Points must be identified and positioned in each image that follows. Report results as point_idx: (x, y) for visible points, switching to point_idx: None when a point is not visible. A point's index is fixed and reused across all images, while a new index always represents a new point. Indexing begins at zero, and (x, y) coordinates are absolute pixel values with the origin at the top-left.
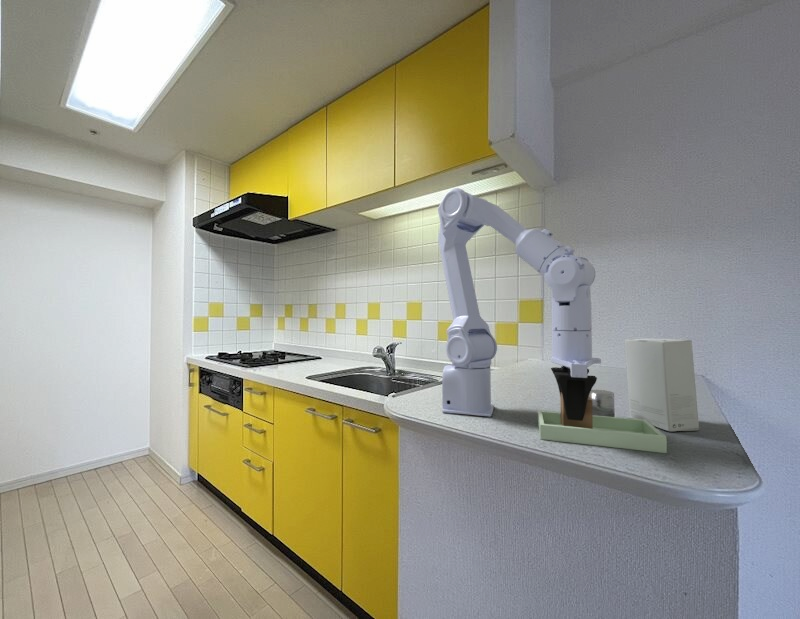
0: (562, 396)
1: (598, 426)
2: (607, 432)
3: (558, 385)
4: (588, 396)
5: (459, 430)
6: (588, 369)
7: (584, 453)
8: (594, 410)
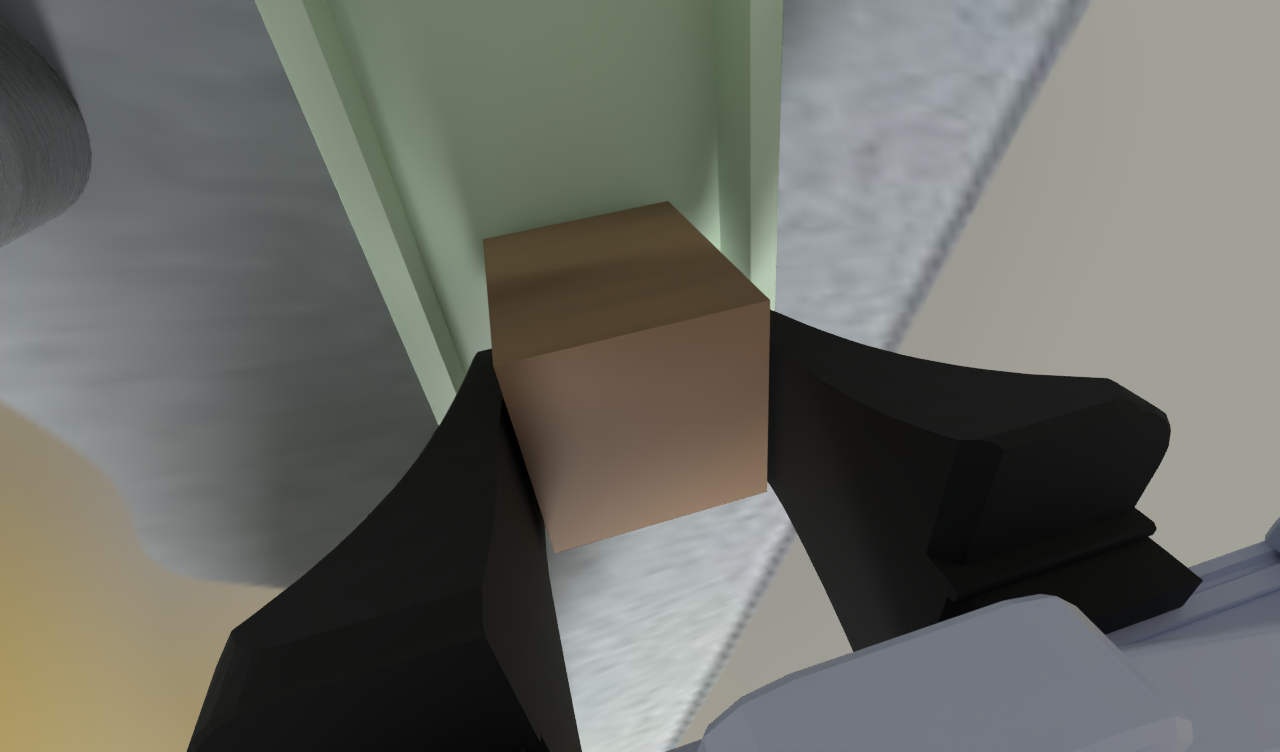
0: (710, 506)
1: (380, 155)
2: (778, 115)
3: (556, 620)
4: (882, 350)
5: (743, 625)
6: (488, 636)
7: (863, 221)
8: (22, 211)
